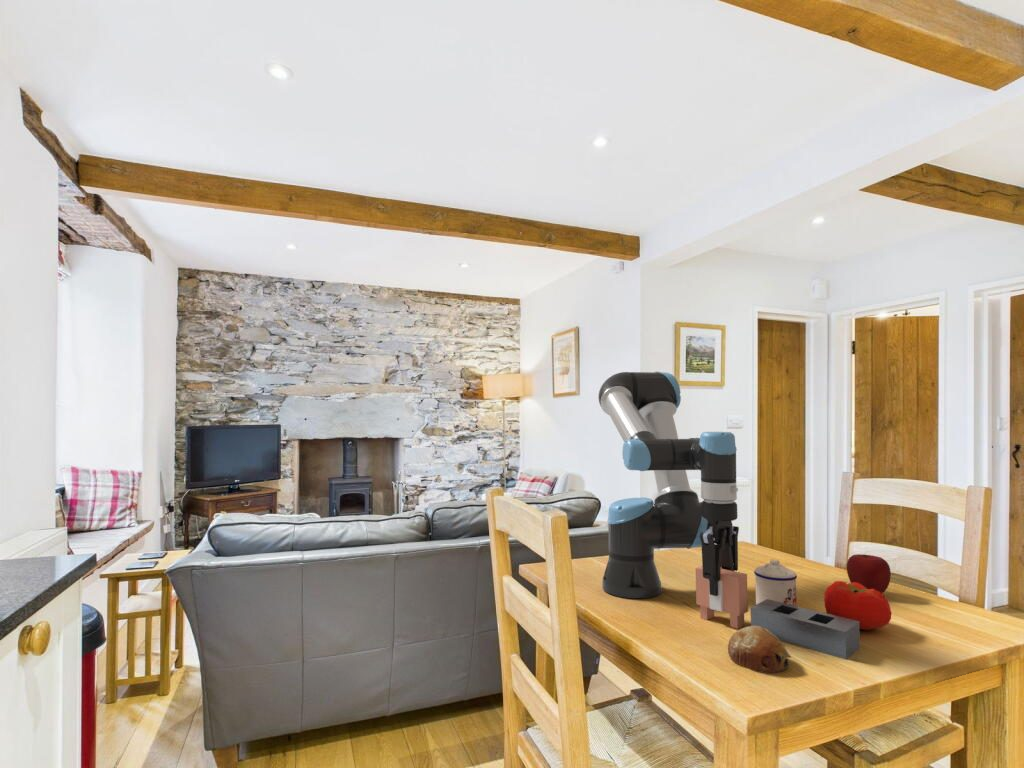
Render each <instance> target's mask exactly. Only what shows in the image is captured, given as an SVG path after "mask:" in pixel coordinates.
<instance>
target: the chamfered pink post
mask: <svg viewBox="0 0 1024 768" xmlns="http://www.w3.org/2000/svg"><path fill="white" fill-rule="evenodd" d="M720 580H722V587H723V611H722V613H723V612H724V613H727V614H729V621H730V622H729V625H730V627H731V628H733V629H737V630H739V629H741V628H742V627H744V626H745V614H746V613H748V612H749V605H748V604H749V603H748V601H749V599H748V597H749V596H748V574H747V573H744V572H738V571H730V570H726V569H721V573H720ZM695 597H696V598H695V600H696V601H695V602H696V603H695V604H696V605H698V606H700V607H699V610H700V611H699V613H700V614H699V615H700V619H701V620H702V619H703V620H704V621H705V620H706V621H709V620H710V619H712V618H714V617H715V610H713V609H710V596H709V579H706V578H704V577H703V567H702V565H701V566H698V567H696V568H695Z"/></svg>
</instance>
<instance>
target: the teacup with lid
mask: <svg viewBox="0 0 1024 768" xmlns="http://www.w3.org/2000/svg"><path fill="white" fill-rule="evenodd" d="M753 574H754V576H755V577H754V579H755V581H754V582H755V605H757V604H758V603H760V602H762V601H764V600H766V599H769V600H773V601H777V602H781V603H785V604H789V605H794V606H798V605H797V604H798V603H797V599H798V598H797V577H798V575H797V573H796V572H795V571H794V570H793V569H790V568H787V567H786V566H785V565H783V564H780V560H779V559H774V558H773V559H770V560H769V563H766V564H764V565H761V566H756V567H755V569H754V571H753Z"/></svg>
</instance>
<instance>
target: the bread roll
mask: <svg viewBox="0 0 1024 768" xmlns="http://www.w3.org/2000/svg"><path fill="white" fill-rule="evenodd" d="M782 642H783V641H781V640H779V639H778V638H777V637H776V636H775V635H774V634H772V633H771V632H770V631H769V630H767V629H765V628H763V627H760V626H751V625H749V626H745V627H743V628H742V627H741V628H739V629H737V630H736V631H735V632H734V633H733V634H732V635H731V636H730V638H729V640H728V643H727V652H728V656H729V658H730V660H731V661H732V662H733V663H734V664H735V665H737V666H739V667H742V668H744V669H747V670H751V671H754V672H760V673H766V674H772V673H773V674H774V673H775V674H777V673H780V672H781V671H784V670H786V669H787V668H789V667H790V664H789V661H788V658H789V659H790V658H792V656H791V655H790V654H789V652H788V651H787V649H786V647H785V644H783V643H782Z"/></svg>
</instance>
